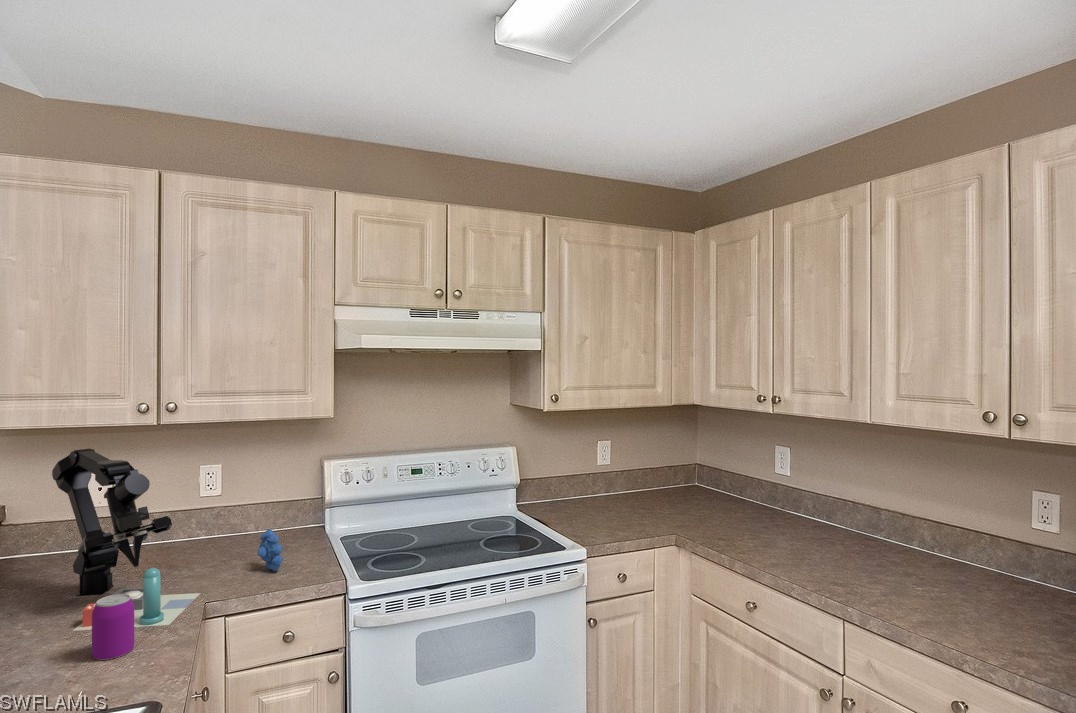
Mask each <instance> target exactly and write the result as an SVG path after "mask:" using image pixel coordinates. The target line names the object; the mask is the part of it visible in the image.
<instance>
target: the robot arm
mask: <svg viewBox="0 0 1076 713" xmlns="http://www.w3.org/2000/svg"><path fill="white" fill-rule="evenodd" d="M51 474H52V479H53V480H54V481H55V483H56V486H57V488H58V489H59V490H61V491H63V492H64V493H65V494H67V495H68V499H69V502H70V505H71V508H72V512H73V514H74V517H75V518H74V519H75V520H76V521H75V522H76V525H77V527H78V531H79V534H80V537H81V543H80V545H79V548H78V550H77V554H78V555H77V557H76V558H75V560H74V562H73V564H72V568H73V573H74V574H76V575H78V576H79V592H78V593H77V594H75V596H76V597H85V596H102V595H104V594H106V593H107V592H108V591H110V590H111V589H112V588H114V587H115V585H114V584H113V573H112V572H111V569H112V568H115V567H116V566H117V564H118V558H119V553H120V552H121V553H122V554H123V555H124V556H125V557H126V558H127V559H128V561H129V562H130V563H131V565H132V566H133V567H134V568H137V567H139V562H140V554H141V548H142V543H143V541H146V540H147V539H148V536H149V535H148V534H149V533H150V532H152V533H155V534H159V533H164V532H168V530H171V528H172V526H173V523H172V519H171V517H170V516H168V515H166V516H161V517H159V518H154V519H152V521H151V522H150V523H149V524H145V525H143V521H146V520H149V519H150V513H149V509H148V506H142V507H138V508H137V506H136V502H135V501H136V500H137V499H138V498H140V497H142V495H144V494H145V493H147V491H148V490H149V489H150V485H151V483H150V479H149V478H148V477H147V476H145V475H144V474H142V473H139V470H138V469H135V468H134V467H133V466H132V465H131V463H130V462H129V461H127V460H121V459H118V460H117V459H115V460H114V459H109V458H107V457H106V456H103V455H102V454H100V453H98V452H96V451H95V450H94V448H90V447H89V448H81V449H74V450H72V451H70V453H69V455H66V457H64V458H61V459H60V460H58V461H57V463H56V464H55V465H54V467H53V469H52V470H51ZM92 474H93V475H94V476H95V477H94V480H95V482H97V484H99V485H100V486H101V487H106V486H107V489H106V491H105V493H104V494H103V498H104V499H106V502H107V507H108V510H109V515H110V519H111V523H112V527H113V532H114V533H112V532H107V533H106V532H104V531H103V528H102V526H101V524H100V520H99V516H98V513H97V510H96V508H95V504H94V502H93V498H92V495H91V492H90V488H89V484H90V481H91V479H92V476H93V475H92ZM108 486H111V487H108ZM132 537H133V540H132V546H133V547H132V548H133V550H132V548H131V545H130V542H129V538H132ZM119 550H120V552H119Z"/></svg>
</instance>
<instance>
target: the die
mask: <svg viewBox="0 0 1076 713" xmlns="http://www.w3.org/2000/svg"><path fill="white" fill-rule="evenodd" d="M95 605H96V602H95V603H89V604H87V605H86V606H85V607H84V609H82V623H83V627H88V626H92V612H93V610H94V607H95Z"/></svg>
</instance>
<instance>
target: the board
mask: <svg viewBox="0 0 1076 713" xmlns="http://www.w3.org/2000/svg"><path fill="white" fill-rule="evenodd" d="M200 594H201V593H200V592H197V593H181V594H180V593H179V594H178V593H176V594H161V612H163V613H164V620H163V621H161V622H159V623H156V624H152V625H141V624H140V617H141V616H142V615H143V609H142V610H134V628H139V627H141V628H143V627H157V626H169V625H171V623H172V622H173V621H174V620H176V619H177V618H178V617H179V616H180V614H181V613H182V612H183V611H185V609H186V608H187V607H188V606H189V605H190V604H191V603H192V602H193V601H195V599H197V597H199V596H200ZM87 630H88V631H90V630H91V631H92V626H88V627H83V622H81V623H80V624H79V625H78V626H77V627H75V628H74V629H73V630H72V631H76V632H77V631H87Z"/></svg>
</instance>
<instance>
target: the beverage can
mask: <svg viewBox="0 0 1076 713" xmlns="http://www.w3.org/2000/svg"><path fill="white" fill-rule="evenodd" d="M95 603H96V605H95V607H94V610H93V612H92V630H91V655H92V657H93V658H94V659H95V660H99V661H107V660H108V661H109V659H110V660H114V659H113V658H115V659H118V658H121V657H123V655H124V656H125V654H126V655H127V654H129V653H131V651H133V650H134V648H135V627H134V604H133V602H132V600H131V597H130V595H128V594H116V595H113V594H110V595H107V596H104V597H101V598H99V599H98V600H96V602H95ZM120 656H121V657H120ZM117 657H118V658H117Z"/></svg>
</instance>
